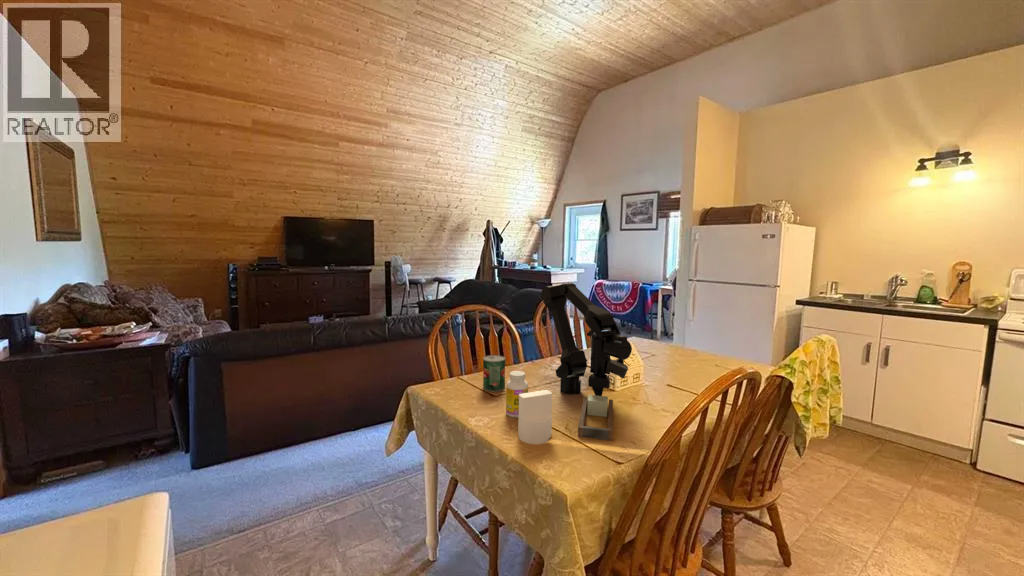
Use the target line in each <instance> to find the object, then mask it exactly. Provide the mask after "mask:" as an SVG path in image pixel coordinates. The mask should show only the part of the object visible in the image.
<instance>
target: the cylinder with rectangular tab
mask: <svg viewBox="0 0 1024 576" xmlns="http://www.w3.org/2000/svg"><path fill="white" fill-rule="evenodd" d="M552 403H553V393H552V391H550V390H549V389H545V390H543V389H541V390H536V391H530V392H529V391H528V393H522V394H519V418H518V422H517V423H518V427H517V428H518V433H517V434H518V440H520V441H521V442H523V443H526V444H529V445H543V444H546V443H549V442H550V441H551V440H552V438H551V437H552V430H553V429H552V427H553V425H552V424H553V415H552V414H553V412H552V407H553V404H552Z"/></svg>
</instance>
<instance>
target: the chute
mask: <svg viewBox="0 0 1024 576" xmlns="http://www.w3.org/2000/svg"><path fill="white" fill-rule="evenodd" d="M581 404H582V405H581V410H580V415H579V420H578V421H579V422H578V425H577V437H578V438H584V439H585V438H586V439H595V440H600V441H601V440H603V441H609V442H611V441H613V438H614V437H613V435H614V434H613V433H614V400H613V399H608V415H607V417H608V418H607V419H608V422H607V424H608V425H607V426H608V427H607V428H605V427H595V426H586V425H585V423H586V418H587V417H586V416H587V408H588V396H584V397H583V400H582V403H581Z"/></svg>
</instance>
